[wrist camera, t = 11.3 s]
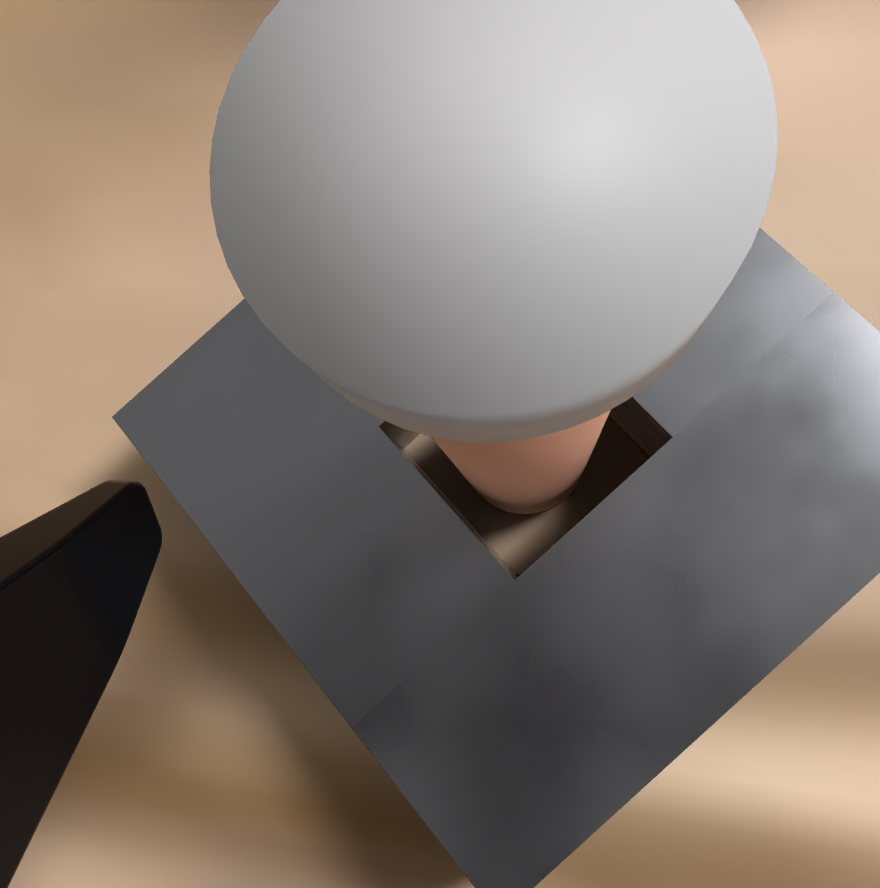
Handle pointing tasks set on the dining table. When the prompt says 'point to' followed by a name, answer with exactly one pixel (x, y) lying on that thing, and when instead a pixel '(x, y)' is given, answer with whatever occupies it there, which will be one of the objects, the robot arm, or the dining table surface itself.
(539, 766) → the dark grey square base
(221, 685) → the dining table surface
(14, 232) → the dining table surface
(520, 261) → the pin
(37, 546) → the robot arm
